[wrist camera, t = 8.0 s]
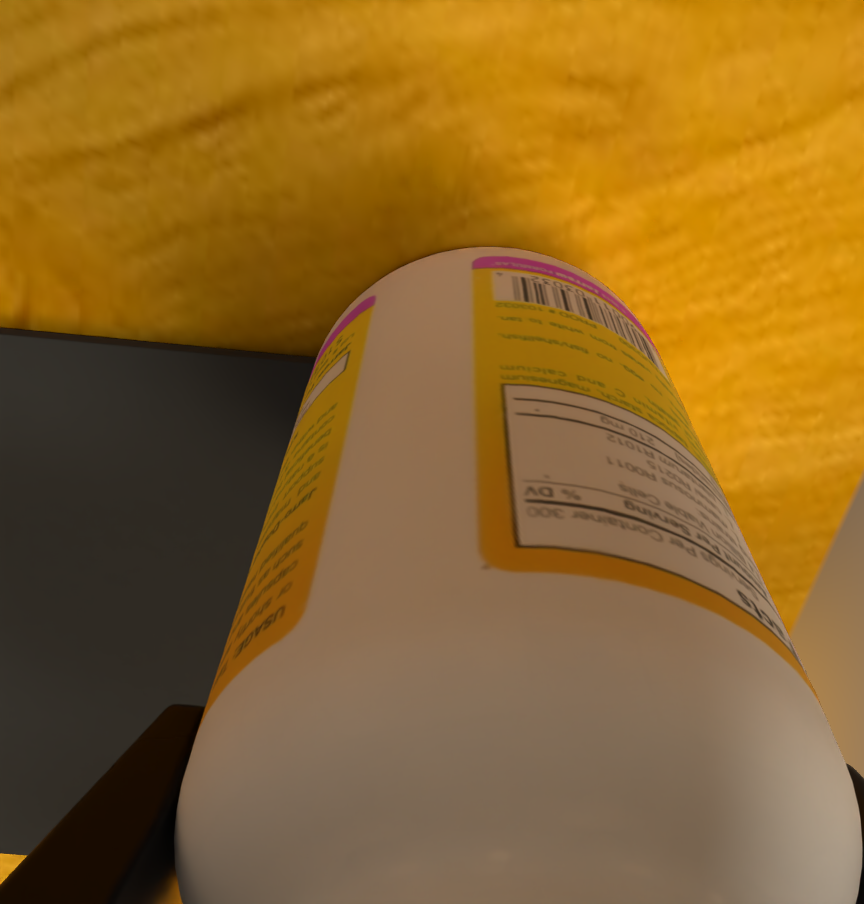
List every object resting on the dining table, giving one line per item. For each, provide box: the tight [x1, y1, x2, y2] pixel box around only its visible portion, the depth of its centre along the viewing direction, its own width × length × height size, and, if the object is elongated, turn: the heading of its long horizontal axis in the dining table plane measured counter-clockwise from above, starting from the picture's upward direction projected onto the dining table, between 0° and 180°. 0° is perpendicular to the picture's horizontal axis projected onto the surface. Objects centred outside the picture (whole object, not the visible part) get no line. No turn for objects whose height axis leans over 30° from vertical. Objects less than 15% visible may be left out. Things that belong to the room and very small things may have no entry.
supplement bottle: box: [174, 247, 862, 904], centre depth 11 cm, size 7×7×13 cm
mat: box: [0, 328, 317, 855], centre depth 21 cm, size 18×18×1 cm
